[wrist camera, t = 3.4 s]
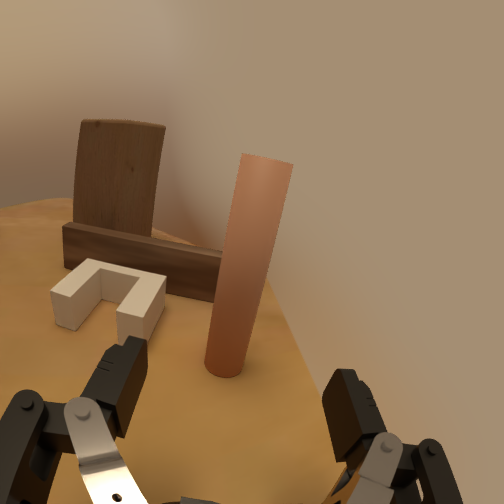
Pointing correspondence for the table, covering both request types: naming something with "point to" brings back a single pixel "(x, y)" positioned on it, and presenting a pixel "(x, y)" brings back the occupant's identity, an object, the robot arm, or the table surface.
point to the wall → (146, 258)
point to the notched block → (110, 297)
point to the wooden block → (117, 174)
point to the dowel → (245, 260)
